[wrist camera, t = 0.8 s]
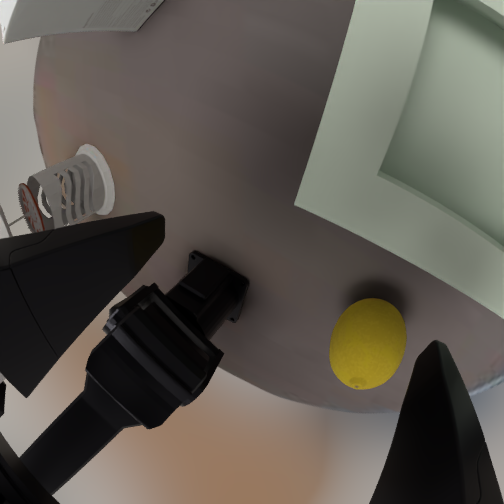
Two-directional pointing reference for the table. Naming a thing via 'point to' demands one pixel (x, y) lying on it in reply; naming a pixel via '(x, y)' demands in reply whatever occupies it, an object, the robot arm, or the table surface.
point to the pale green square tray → (419, 139)
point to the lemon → (367, 343)
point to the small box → (71, 16)
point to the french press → (76, 188)
